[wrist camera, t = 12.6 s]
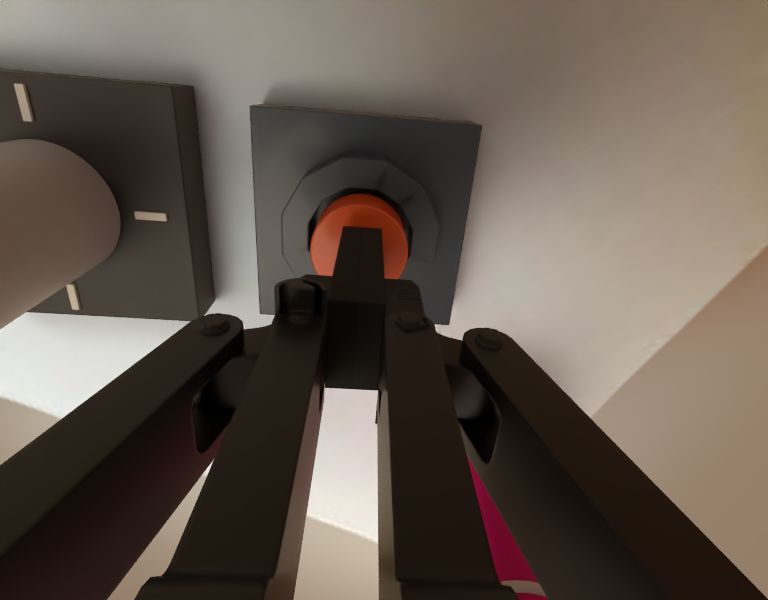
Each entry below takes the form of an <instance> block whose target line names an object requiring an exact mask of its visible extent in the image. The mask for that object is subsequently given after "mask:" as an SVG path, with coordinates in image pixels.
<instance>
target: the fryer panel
mask: <svg viewBox="0 0 768 600" xmlns="http://www.w3.org/2000/svg"><path fill="white" fill-rule="evenodd" d="M20 139H35V140H43V141H47V142H50V143H54V144H56V145H59V146H61V147H64V148H66V149H68V150H70V151H71V152H73V153H75V154H76V155H78V156H79V157H81V158H82V159H83V160H85V161H86V162H87V163H89V164H90V165H91V166H92V167H93V168H94V169H95V170H96V171H97V172H98V173H99V175H100V176H101V177H102V178H103V179H104V181H105V182H106V184H107V185H108V187H109V188H110V190H111V192H112V194H113V196H114V198H115V200H116V203H117V206H118V210H119V213H120V221H121V224H120V235H119V239H118V242H117V245H116V247H115V248H114V250H113V252H112V253H111V254H110V255H109V257H107V258H106V259H105V260H104V261H103V262H101V263H100V264H98V265H97V266H95V267H94V268H92V269H91V270H89V271H88V272H86V273H85V274H83V275H82V276H80V277H78V278H77V279H75V280H74V281H72V282H71V283H69V284H68V285H66V286H65V287H63V288H62V289H60V290H59V291H57V292H56V293H54V294H53V295H51V296H50V297H48V298H47V299H45V300H44V301H42V302H41V303H39V304H37V305H36V306H34V307H33V308H31V309H30V310H28V311H27V312H39V313H56V314H74V315H91V316H109V317H127V318H144V319H162V320H179V321H193V320H195V319H197V318H199V317H203V316H204V315H205V314H206V312H207V311H208V309H209V308H210V307H211V305H212V304H213V303H214V301H215V296H214V286H213V276H212V265H211V255H210V245H209V235H208V225H207V215H206V205H205V195H204V184H203V174H202V164H201V154H200V144H199V134H198V124H197V114H196V104H195V93H194V87H193V86H190V85H178V84H167V83H155V82H144V81H132V80H121V79H109V78H98V77H86V76H75V75H63V74H52V73H40V72H28V71H17V70H5V69H0V142H7V141H13V140H20Z"/></svg>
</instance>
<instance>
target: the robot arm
mask: <svg viewBox="0 0 768 600" xmlns="http://www.w3.org/2000/svg"><path fill="white" fill-rule="evenodd" d="M274 296H275V317H274V319H273V322H272V324H271V325H268V326H265V327H260V328H254V329H245V330H243V322H242V321H241V320H240V319H239V318H238V317H235V316H232V315H228V314H221V313H216V314H208V315H206V316H203V317H199V318H197V319H195V320H193V321H191V322H190V323H188V324H187V325H186V326H184V327H183V328H182V329H180V330H179V331H178V332H177V333H175V334H174V335H173V336H171V337H170V338H169V339H167V340H166V341H165V342H163V343H162V344H161V345H159V346H158V347H157V348H155V349H154V350H153V351H151V352H150V353H149V354H147V355H146V356H145V357H143V358H142V359H141V360H139V361H138V362H137V363H135V364H134V365H133V366H131V367H130V368H129V369H127V370H126V371H125V372H123V373H122V374H121V375H119V376H118V377H117V378H115V379H114V380H113V381H111V382H110V383H109V384H108V385H106V386H105V387H104V388H102V389H101V390H100V391H98V392H97V393H96V394H94V395H93V396H92V397H90V398H89V399H88V400H86V401H85V402H84V403H82V404H81V405H80V406H78V407H77V408H76V409H74V410H73V411H72V412H70V413H69V414H68V415H66V416H65V417H64V418H62V419H61V420H60V421H58V422H57V423H56V424H55V425H53V426H52V427H50V428H49V429H48V430H46V431H45V432H44V433H43V434H41V435H40V436H39V437H37V438H36V439H35V440H33V441H32V442H31V443H29V444H28V445H27V446H25V447H24V448H23V449H21V450H20V451H19V452H17V453H16V454H15V455H13V456H12V457H11V458H9V459H8V460H7V461H5V462H4V463H3V464H1V465H0V600H107V599H108V598H109V596H110V595H111V594H112V592H113V591H114V590H115V589H116V587H117V586H118V585H119V583H120V582H121V580H122V579H123V578H124V576H125V575H126V574H127V573H128V571H129V570H130V569H131V567H132V566H133V565H134V563H135V562H136V561H137V560H138V558H139V557H140V555H141V554H142V553H143V552H144V550H145V549H146V547H147V546H148V545H149V544H150V542H151V541H152V540H153V538H154V537H155V536H156V535H157V533H158V532H159V531H160V529H161V528H162V527H163V525H164V524H165V523H166V521H167V520H168V519H169V517H170V516H171V515H172V514H173V512H174V511H175V510H176V508H177V507H178V505H179V504H180V503H181V502H182V500H183V499H184V498H185V496H186V495H187V494H188V493H189V491H190V490H191V489H192V487H193V486H194V485H195V483H196V482H197V481H198V479H199V478H200V477H201V475H202V474H203V473H204V471H205V470H206V469H207V468H208V466H209V465H210V464H211V462H212V461H213V460H214V461H213V464H212V466H211V468H210V471H209V473H208V475H207V478H206V480H205V483H204V485H203V487H202V490H201V492H200V494H199V497H198V499H197V502H196V504H195V506H194V509H193V511H192V514H191V516H190V518H189V520H188V523H187V525H186V528H185V530H184V532H183V535H182V537H181V540H180V542H179V544H178V546H177V549H176V551H175V554H174V556H173V559H172V561H171V563H170V565H169V567H168V568H167V570H166V572H165V573H164V574H163V575H162V576H157V577H151V578H149V579H148V581H147V582H146V583H145V584H144V585H143V586H142V587H141V589H140V591H139V592H138V594H137V596H136V598H135V599H134V600H293V598H294V592H295V585H296V579H297V572H298V565H299V559H300V553H301V545H302V539H303V533H304V526H305V520H306V513H307V507H308V500H309V494H310V487H311V481H312V474H313V468H314V461H315V455H316V448H317V442H318V435H319V429H320V422H321V416H322V409H323V403H324V383H325V388H342V389H362V390H378V399H377V410H376V421H375V423H376V424H377V427H378V550H379V600H519V598H518V596H517V594H516V593H515V591H514V590H513V588H512V587H511V586H506V585H502V584H501V582H500V581H499V579H498V576H497V573H496V570H495V566H494V562H493V558H492V554H491V550H490V546H489V542H488V538H487V534H486V530H485V526H484V522H483V518H482V514H481V510H480V506H479V502H478V498H477V494H476V490H475V486H474V482H473V478H472V474H471V470H470V466H469V462H468V458H469V460H470V462H471V463H472V465H473V467H474V469H475V471H476V472H477V474H478V476H479V478H480V479H481V481H482V483H483V485H484V487H485V488H486V490H487V492H488V494H489V495H490V497H491V499H492V501H493V503H494V504H495V506H496V508H497V510H498V512H499V513H500V515H501V517H502V519H503V520H504V522H505V524H506V526H507V528H508V529H509V531H510V533H511V535H512V536H513V538H514V540H515V542H516V544H517V545H518V547H519V549H520V551H521V552H522V554H523V556H524V558H525V560H526V561H527V563H528V565H529V567H530V568H531V570H532V572H533V574H534V576H535V577H536V579H537V581H538V583H539V585H540V586H541V588H542V590H543V592H544V593H545V595H546V597H547V599H548V600H768V599H767V598H766V597H765V596H764V595H763V594H762V593H761V592H760V591H759V590H758V589H757V588H756V586H754V584H753V583H751V581H750V580H748V578H747V577H746V576H745V575H744V574H743V573H742V572H741V571H740V570H739V569H738V568H737V567H736V566H735V565H734V564H733V563H732V562H731V561H730V560H729V559H728V558H727V557H726V556H725V555H724V554H723V553H722V552H721V551H720V550H719V549H718V548H717V547H716V546H715V545H714V544H713V543H712V542H711V541H710V540H709V539H708V538H707V537H706V536H705V535H704V534H703V533H702V532H701V531H700V530H699V528H698V527H696V525H694V523H693V522H691V520H690V519H689V518H688V517H686V515H685V514H684V513H683V512H682V511H681V510H680V509H679V508H678V507H677V506H676V505H675V504H674V503H673V502H672V501H671V500H670V499H669V498H668V497H667V496H666V495H665V494H664V493H663V492H662V491H661V490H660V489H659V488H658V487H657V486H656V485H655V484H654V483H653V482H652V481H651V480H650V479H649V478H648V477H647V476H646V475H645V474H644V473H643V472H642V471H641V470H640V469H639V467H638V466H637V465H636V464H635V463H634V462H633V461H632V460H631V459H630V458H629V457H628V456H627V455H626V454H625V453H624V452H623V451H622V450H621V449H620V448H619V447H618V446H617V445H616V444H615V443H614V442H613V441H612V440H611V439H610V438H609V437H608V436H607V435H606V434H605V433H604V432H603V431H602V430H601V429H600V428H599V427H598V426H597V425H596V424H595V423H594V422H593V421H592V420H591V419H590V418H589V416H588V415H587V414H586V413H585V412H584V411H583V410H582V409H581V408H580V407H579V406H578V405H577V404H576V403H575V402H574V401H573V400H572V399H571V398H570V397H569V396H568V395H567V394H566V393H565V392H564V391H563V390H562V389H561V388H560V387H559V386H558V385H557V384H556V383H555V382H554V381H553V380H552V379H551V378H550V377H549V376H548V375H547V374H546V373H545V372H544V371H543V370H542V369H541V368H540V367H539V366H538V365H537V364H536V363H535V362H534V360H533V359H532V358H531V357H530V356H529V355H528V354H527V353H526V352H525V351H524V350H523V349H522V348H521V347H520V346H519V345H518V344H517V343H516V342H515V341H514V340H513V339H512V338H510V337H509V336H508V335H506V334H504V333H502V332H499V331H498V330H495V329H491V328H475V329H470V330H468V331H467V332H465V333H464V336H463V340H462V341H461V340H457V339H453V338H449V337H446V336H443V335H441V334H438V333H437V332H436V330H435V326H434V323H433V322H432V320H431V319H429V318H428V317H426V315H425V310H424V306H423V302H422V297H421V293H420V288H419V286H418V285H417V284H415V283H414V282H413V281H412V280H404V279H389V278H385V276H384V259H383V242H382V229H380V228H366V227H352V226H343V229H342V234H341V238H340V243H339V247H338V252H337V257H336V261H335V266H334V271H333V275H332V276H325V275H310V274H305V275H304V276H302V277H301V278H292V279H286V280H283V281H281V282H278V283H277V284H276V285H275V286H274ZM378 387H379V388H378ZM467 456H468V458H467ZM214 458H215V459H214Z"/></svg>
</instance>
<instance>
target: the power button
mask: <svg viewBox="0 0 768 600" xmlns="http://www.w3.org/2000/svg"><path fill="white" fill-rule="evenodd" d="M343 226H352V227H366V228H380V229H382V242H383V259H384V276H385V278H389V279H398V278H399V277H400V275H401V274H402V272H403V270H404V268H405V265H406V262H407V257H408V245H407V240H406V235H405V231H404V226H403V223H402V221H401V218H400V217H399V215H398V213H397V212H396V211H395V209H394V208H393V207H392V206H391V205H390V204H388V203H387V202H386V201H384V200H382V199H381V198H379V197H376V196H373V195H370V194H363V193H356V194H349V195H346V196H343V197H340V198H338V199H337V200H335V201H333V202H332V203H331V204H330V205H329V206H328V207H327V208H326V209H325V210H324V211H323V213H322V214H321V216H320V218H319V220H318V223H317V225H316V228H315V230H314V233H313V235H312V239H311V244H310V256H311V260H312V264H313V267H314V269H315V271H316V273H317V274H318V275H325V276H332V275H333V271H334V266H335V261H336V257H337V252H338V247H339V243H340V238H341V234H342V229H343Z"/></svg>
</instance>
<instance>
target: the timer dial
mask: <svg viewBox="0 0 768 600" xmlns="http://www.w3.org/2000/svg"><path fill="white" fill-rule="evenodd" d="M120 224H121V221H120V213H119V210H118V206H117V203H116V200H115V198H114V196H113V194H112V192H111V190H110V188H109V187H108V185H107V184H106V182H105V181H104V179H103V178H102V177H101V176H100V175H99V173H98V172H97V171H96V170H95V169H94V168H93V167H92V166H91V165H90V164H89V163H87V162H86V161H85V160H83V159H82V158H81V157H79V156H78V155H76V154H75V153H73V152H71V151H70V150H68V149H66V148H64V147H61V146H59V145H56V144H54V143H50V142H47V141H43V140H35V139H20V140H13V141H7V142H0V329H1V328H3V327H4V326H6V325H7V324H9V323H10V322H12V321H13V320H15V319H16V318H18V317H19V316H21V315H22V314H24V313H25V312H27V311H28V310H30V309H31V308H33V307H34V306H36V305H37V304H39V303H41V302H42V301H44V300H45V299H47V298H48V297H50V296H51V295H53V294H54V293H56V292H57V291H59V290H60V289H62V288H63V287H65V286H66V285H68V284H69V283H71V282H72V281H74V280H75V279H77V278H78V277H80V276H82V275H83V274H85V273H86V272H88V271H89V270H91V269H92V268H94V267H95V266H97V265H98V264H100V263H101V262H103V261H104V260H105V259H106V258H107V257H109V255H110V254H111V253H112V252H113V250H114V248H115V247H116V245H117V242H118V239H119V235H120Z"/></svg>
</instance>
